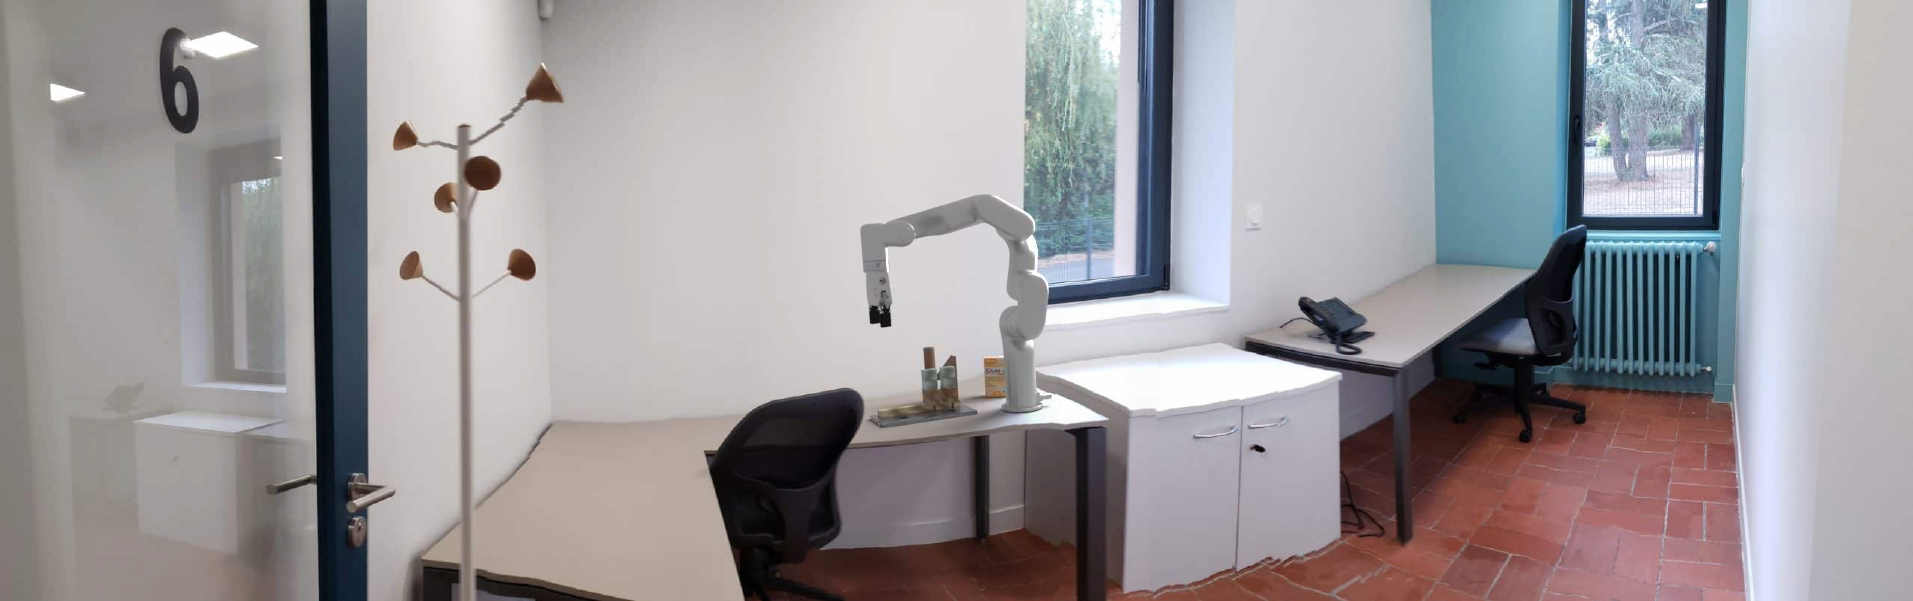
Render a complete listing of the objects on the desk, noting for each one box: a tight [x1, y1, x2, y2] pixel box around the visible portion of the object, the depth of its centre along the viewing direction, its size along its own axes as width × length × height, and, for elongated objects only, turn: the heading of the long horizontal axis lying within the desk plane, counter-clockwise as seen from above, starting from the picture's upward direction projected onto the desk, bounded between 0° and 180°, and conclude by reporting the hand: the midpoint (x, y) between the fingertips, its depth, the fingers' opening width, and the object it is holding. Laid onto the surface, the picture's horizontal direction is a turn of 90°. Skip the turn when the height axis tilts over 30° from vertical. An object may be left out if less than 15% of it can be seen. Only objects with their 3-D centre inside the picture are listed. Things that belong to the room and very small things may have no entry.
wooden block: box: [922, 346, 960, 401], centre depth 339 cm, size 4×11×18 cm, turn 117°
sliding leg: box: [920, 368, 939, 411], centre depth 320 cm, size 4×6×12 cm, turn 22°
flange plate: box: [868, 402, 978, 427], centre depth 319 cm, size 30×14×1 cm, turn 112°
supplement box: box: [983, 355, 1006, 398], centre depth 341 cm, size 8×5×13 cm, turn 81°
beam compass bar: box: [877, 366, 961, 418], centre depth 319 cm, size 26×7×13 cm, turn 112°
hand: (880, 325), depth 303 cm, fingers open, 9 cm apart
